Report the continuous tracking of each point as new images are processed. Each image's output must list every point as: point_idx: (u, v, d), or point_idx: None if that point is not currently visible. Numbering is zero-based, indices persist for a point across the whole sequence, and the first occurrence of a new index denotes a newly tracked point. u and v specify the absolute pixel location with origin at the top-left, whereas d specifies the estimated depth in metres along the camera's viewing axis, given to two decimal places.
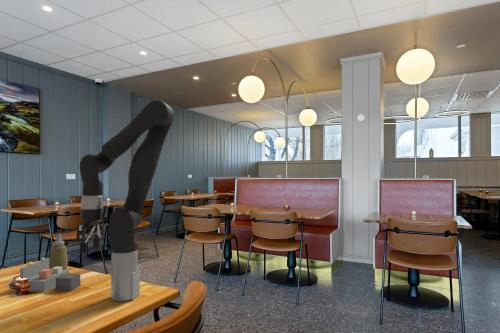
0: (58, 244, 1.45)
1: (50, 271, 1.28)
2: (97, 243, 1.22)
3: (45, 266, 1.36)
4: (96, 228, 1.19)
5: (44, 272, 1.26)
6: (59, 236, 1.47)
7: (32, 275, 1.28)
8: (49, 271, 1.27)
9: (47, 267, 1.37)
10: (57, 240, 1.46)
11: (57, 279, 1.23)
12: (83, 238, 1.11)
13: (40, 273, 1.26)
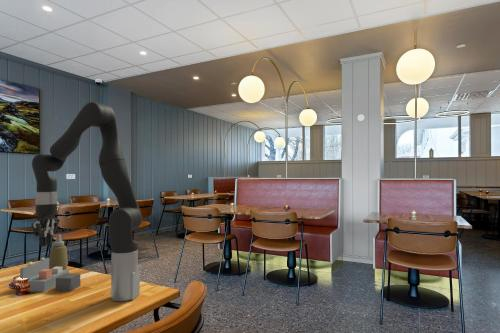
0: (58, 244, 1.45)
1: (50, 271, 1.28)
2: (49, 240, 1.29)
3: (45, 266, 1.36)
4: (51, 222, 1.29)
5: (44, 272, 1.26)
6: (59, 236, 1.47)
7: (32, 275, 1.28)
8: (49, 271, 1.27)
9: (47, 267, 1.37)
10: (57, 240, 1.46)
11: (57, 279, 1.23)
12: (41, 233, 1.23)
13: (40, 273, 1.26)
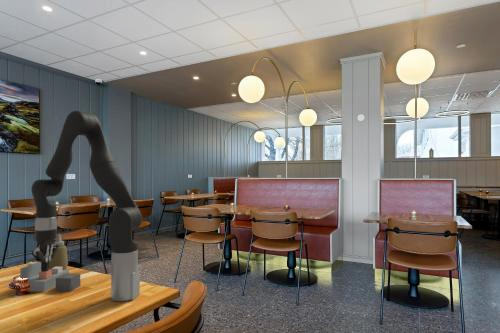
0: (58, 244, 1.45)
1: (50, 272, 1.28)
2: None
3: None
4: (50, 247, 1.28)
5: (44, 273, 1.26)
6: (59, 236, 1.47)
7: (32, 275, 1.28)
8: (49, 272, 1.27)
9: None
10: (57, 240, 1.46)
11: (57, 279, 1.23)
12: (42, 259, 1.24)
13: (40, 274, 1.26)
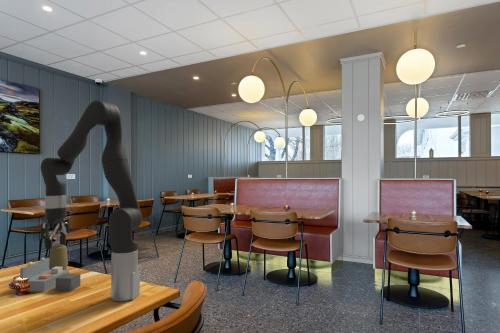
0: (58, 244, 1.45)
1: (50, 276, 1.28)
2: (63, 240, 1.31)
3: (45, 266, 1.36)
4: (61, 226, 1.28)
5: (44, 277, 1.26)
6: (59, 236, 1.47)
7: (32, 275, 1.28)
8: (49, 276, 1.27)
9: (47, 267, 1.37)
10: (57, 240, 1.46)
11: (57, 279, 1.23)
12: (47, 235, 1.20)
13: (40, 278, 1.26)
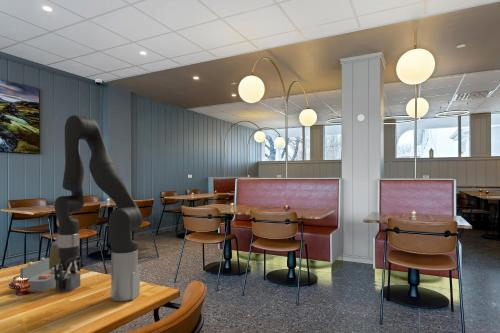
0: None
1: (50, 276, 1.28)
2: None
3: (45, 266, 1.36)
4: (73, 264, 1.27)
5: (44, 277, 1.26)
6: None
7: (32, 275, 1.28)
8: (49, 276, 1.27)
9: (47, 267, 1.37)
10: (57, 240, 1.46)
11: None
12: (61, 276, 1.20)
13: (40, 278, 1.26)
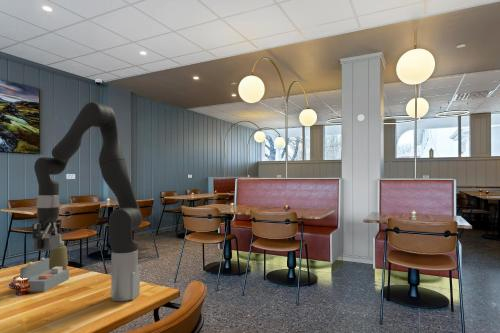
0: None
1: (50, 276, 1.28)
2: None
3: (45, 266, 1.36)
4: (52, 225, 1.29)
5: (44, 277, 1.26)
6: None
7: (32, 275, 1.28)
8: (49, 276, 1.27)
9: (47, 267, 1.37)
10: None
11: (36, 239, 1.25)
12: (39, 235, 1.22)
13: (40, 278, 1.26)
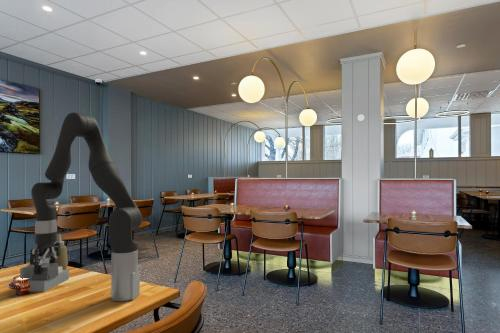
0: None
1: None
2: None
3: None
4: (51, 250, 1.29)
5: None
6: (59, 236, 1.47)
7: None
8: None
9: None
10: (57, 240, 1.46)
11: None
12: (36, 261, 1.21)
13: None
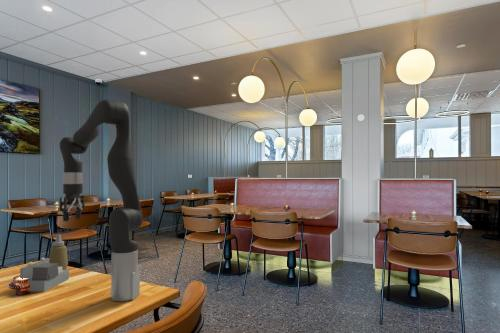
0: (58, 244, 1.45)
1: None
2: (79, 214, 1.41)
3: None
4: (77, 201, 1.38)
5: None
6: (59, 236, 1.47)
7: None
8: None
9: None
10: (57, 240, 1.46)
11: (34, 268, 1.24)
12: (65, 208, 1.31)
13: None
